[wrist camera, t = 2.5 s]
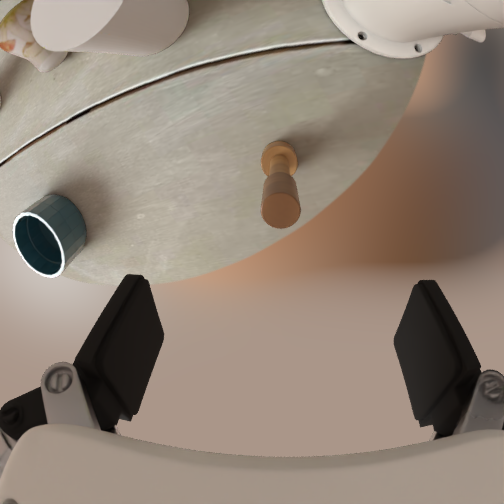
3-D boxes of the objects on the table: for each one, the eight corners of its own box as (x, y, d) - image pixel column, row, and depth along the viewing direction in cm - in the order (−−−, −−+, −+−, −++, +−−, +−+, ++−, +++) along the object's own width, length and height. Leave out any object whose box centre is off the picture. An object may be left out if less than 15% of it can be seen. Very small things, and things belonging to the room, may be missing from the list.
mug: (54, 89, 23) (-22, 84, 15) (58, 34, 23) (-6, 24, 14) (88, 47, 20) (1, 31, 11) (91, -5, 19) (21, -23, 10)
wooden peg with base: (296, 141, 26) (311, 184, 15) (295, 173, 27) (307, 237, 17) (261, 140, 26) (250, 183, 15) (262, 173, 28) (252, 236, 17)
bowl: (77, 190, 30) (50, 209, 25) (95, 255, 35) (74, 280, 30) (30, 195, 30) (4, 214, 26) (49, 253, 35) (27, 275, 31)
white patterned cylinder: (107, 3, 18) (28, -17, 8) (181, -27, 17) (127, -76, 7) (118, 67, 22) (36, 72, 12) (196, 41, 21) (140, 16, 11)
